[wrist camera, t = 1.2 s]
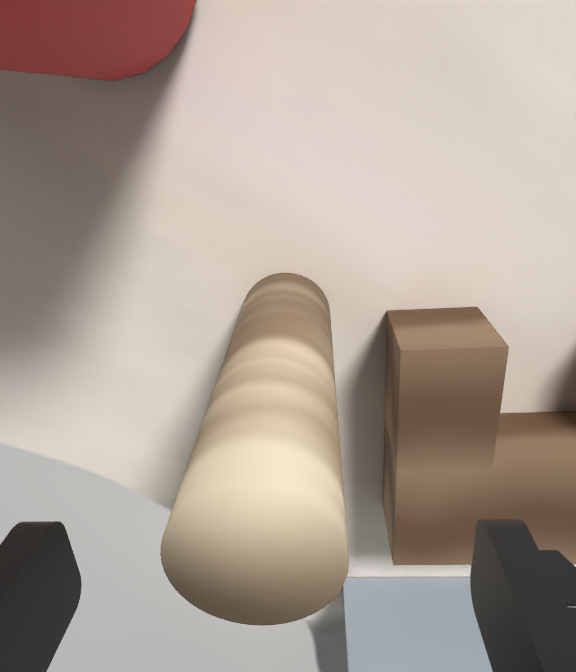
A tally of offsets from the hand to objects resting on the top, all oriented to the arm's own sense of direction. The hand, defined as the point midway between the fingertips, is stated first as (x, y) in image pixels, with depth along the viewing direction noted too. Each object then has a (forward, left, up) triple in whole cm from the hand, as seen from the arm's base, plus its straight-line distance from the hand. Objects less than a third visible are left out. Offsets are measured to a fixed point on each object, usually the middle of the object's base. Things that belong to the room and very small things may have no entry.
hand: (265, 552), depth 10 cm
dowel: (0, 0, -12) cm, 12 cm away
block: (+5, +10, -12) cm, 16 cm away
